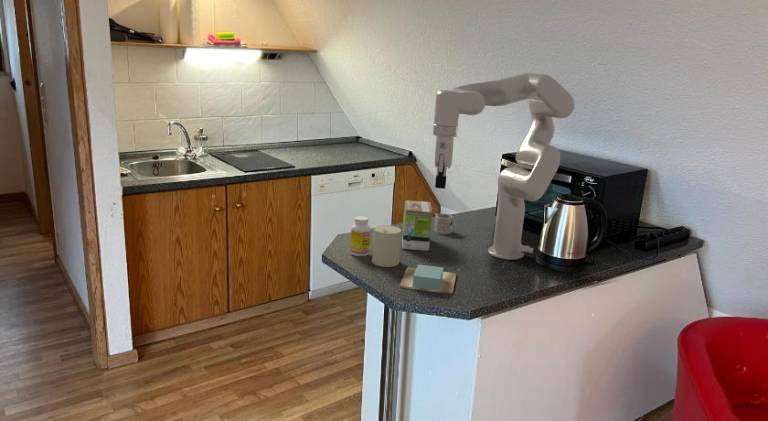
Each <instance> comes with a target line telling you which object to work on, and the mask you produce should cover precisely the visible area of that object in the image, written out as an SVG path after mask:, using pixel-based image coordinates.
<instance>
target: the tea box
mask: <svg viewBox="0 0 768 421" xmlns="http://www.w3.org/2000/svg"><path fill="white" fill-rule="evenodd" d="M403 207H404V208H403V217H402V218H403V220H402V229H401V247H402V249H403V250H414V251H426V252H428V251H429V250H430V242H431V231H432V223H433V213H434V212H433V208H432V203H431V202H430V201H421V200H420V201H419V200H404V206H403Z"/></svg>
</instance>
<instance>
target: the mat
mask: <svg viewBox="0 0 768 421" xmlns="http://www.w3.org/2000/svg"><path fill="white" fill-rule="evenodd" d="M416 268H417V267H416ZM416 268H415V267H406V269H405V272H404V275H403V277H402V279H401V282H400V283H399V288H401V289H410V290H416V291H417V290H418V291H424V292H433V293H440V294H446V295H447V294H449V295H453V294H454V288H455V282H456V278H457V272H456V273H455V272H450V271H443V277H442V282H441V285H440V289H439V290H433V289H425V288H418V287H413V276H414V273H415V271H416Z"/></svg>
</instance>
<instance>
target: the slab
mask: <svg viewBox="0 0 768 421" xmlns="http://www.w3.org/2000/svg"><path fill="white" fill-rule="evenodd" d="M443 272H444V267H442V266H432V265H426V264H417V266H416V271H415V273H414V276H413V287H418V288H425V289H433V290H439V289H440V285H441V282H442V277H443Z"/></svg>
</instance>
